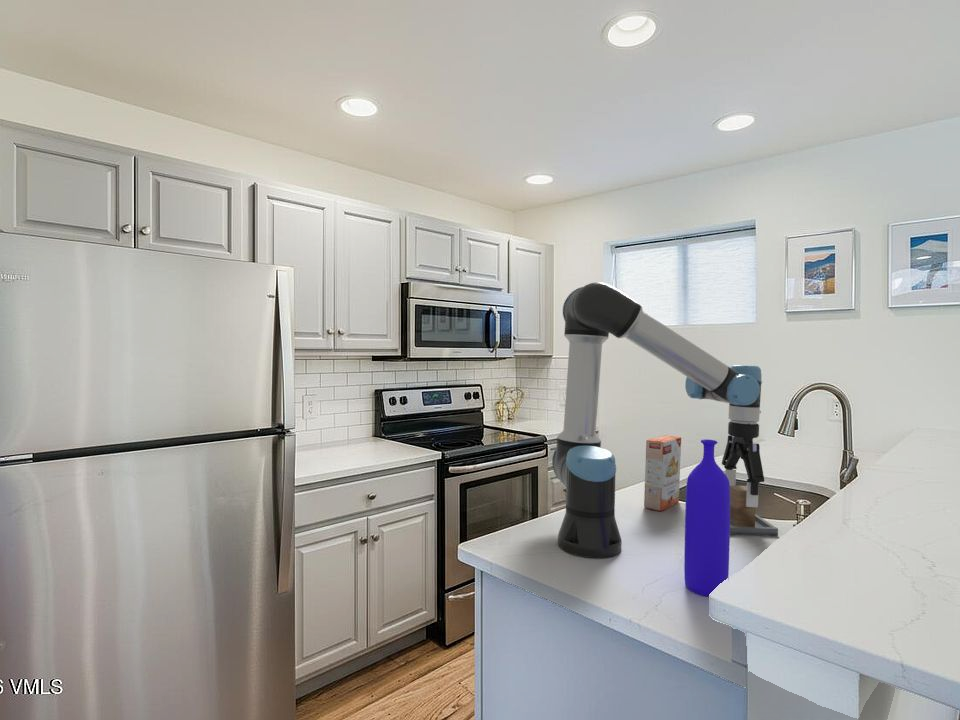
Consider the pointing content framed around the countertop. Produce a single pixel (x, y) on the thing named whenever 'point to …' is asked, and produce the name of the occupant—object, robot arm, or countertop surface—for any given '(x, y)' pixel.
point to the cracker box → (662, 472)
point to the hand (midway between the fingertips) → (740, 499)
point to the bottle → (707, 525)
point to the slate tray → (755, 528)
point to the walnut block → (740, 508)
